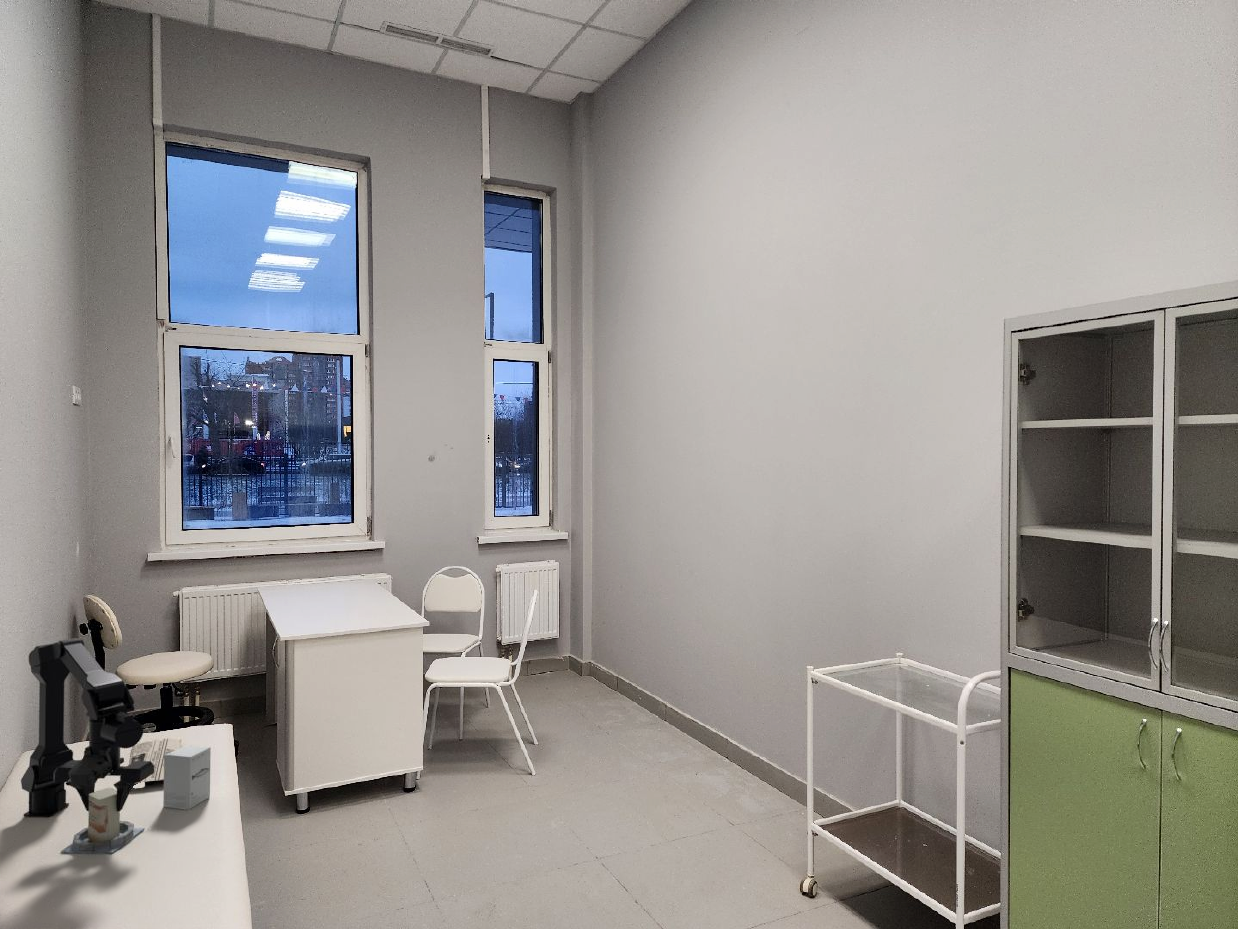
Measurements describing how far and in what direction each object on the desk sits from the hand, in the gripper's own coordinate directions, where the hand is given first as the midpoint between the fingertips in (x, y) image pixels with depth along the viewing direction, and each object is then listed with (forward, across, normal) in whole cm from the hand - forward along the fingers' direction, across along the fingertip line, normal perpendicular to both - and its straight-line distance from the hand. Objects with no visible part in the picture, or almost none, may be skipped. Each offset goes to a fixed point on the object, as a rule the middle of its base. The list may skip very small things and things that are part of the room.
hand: (104, 810), depth 173 cm
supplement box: (+7, +7, +20) cm, 22 cm away
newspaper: (+7, -14, +43) cm, 46 cm away
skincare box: (+6, 0, 0) cm, 6 cm away
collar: (+7, 0, 0) cm, 7 cm away
